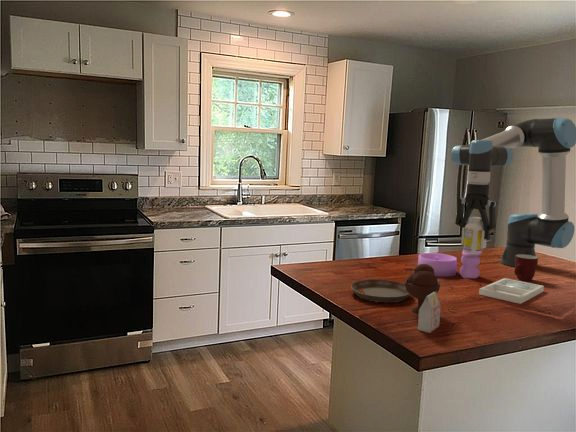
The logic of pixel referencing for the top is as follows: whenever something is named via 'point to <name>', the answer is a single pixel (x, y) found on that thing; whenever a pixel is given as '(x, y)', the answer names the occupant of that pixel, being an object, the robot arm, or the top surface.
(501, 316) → the top surface
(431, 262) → the container set
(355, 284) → the plant saucer
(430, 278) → the ice cream bowl
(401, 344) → the top surface
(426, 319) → the tea bag
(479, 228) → the supplement bottle
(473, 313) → the top surface
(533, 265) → the mug
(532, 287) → the two-compartment tray
